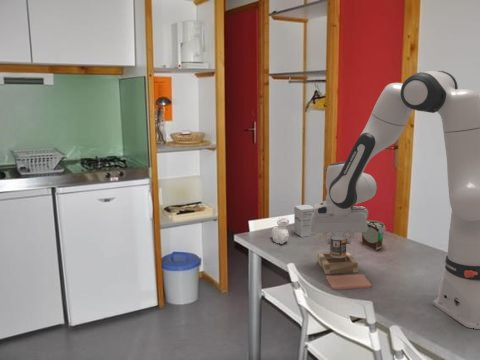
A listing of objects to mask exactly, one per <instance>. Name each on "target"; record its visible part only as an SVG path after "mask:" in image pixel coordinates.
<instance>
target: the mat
mask: <svg viewBox="0 0 480 360" xmlns="http://www.w3.org/2000/svg"><path fill="white" fill-rule="evenodd" d="M325 280H326V282H328V285H329V286H330V287H331V289H332V290H349V289H350V290H351V289H367V288H369V289H370V288H371V289H372V287H373V285H372V284H371V282H370V281H369V279H367V277H366V276H365V275H364V274H363V273H362V274H345V275H341V274H340V275H326V276H325Z"/></svg>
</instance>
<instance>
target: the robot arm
mask: <svg viewBox="0 0 480 360" xmlns="http://www.w3.org/2000/svg"><path fill="white" fill-rule="evenodd" d="M458 87H459V86H458V83H457V79H456V78H455V77H454V76H453V75H452V74H451V73H448V72H447V71H444V70H424V71H421V72H415V73H413V74H412V75H410V76H408V77H407V78H406V79H405V80H404V82H403V83H402V82H392V83H388V84H387V85H386V86H385V87H384V88H383V90H382V92H381V93H380V95H379V96H378V99H377V100H376V103H375V104H374V107H373V109H372V111H371V114H370V116H369V118H368V121H367V122H366V124H365V127H364V128H363V130H362V132H361V133H360V135H359V137H358V138H357V140H356V141H355V142H354V145H353V147H352V148H351V151H350V152H349V154H348V156H347V158H346V160H345V161H339V162H333V163H330V164H329V165H328V166H327V168H326V169H327V170H326V175H325V189H326V196H325V200H324V201H321V202H317V203H314V204H313V206H312V207H313V209H314V212H313V213H312V215H311V220H310V230H311V232H312V233H319V234H320V233H322V235H323V237H324V238H325V243H326V245H330V244H331V243H330V242H331V240H330V237H328V234H329V233H330V234H332V233H334V232H335V231H343V233H347V234H348V233H349V236H348V238H347V237H346V238H347V239H346V245H351V243H352V239H353V238H354V236H355V233H359V234H360V233H361V234H362V233H364V232H366V231H367V230H368V227H367V220H368V218H369V210H368V208H366V207H365V206H356V205H358V204H360V203H363V202H366V201H369V200H371V199H373V198H375V196H376V195H377V192H378V184H377V181H376V179H375V178H374V176H373V175H371V174H369V173H366V172H364V171H365V169H366V168H367V166H368V164H369V162H370V161H371V159H372V158H373V157H375V156H376V155H377V154H378V153H380V152H382V151H383V150H385V149H387V148H389V147H391V146H392V145H393V144H395V143H397V141H398V140H399V138H400V137H401V136H402V134H403V131H404V130H405V128H406V125H407V123H408V121H409V118H410V117H411V115H412V112H414V111H418V112H423V113H431V114H434V113H438V115H439V116H440V118H441V119H440V120H441V122H442V123H441V124H442V129H443V130H442V131H443V138H444V146H445V154H446V169H447V184H448V185H447V186H448V197H449V198H448V199H449V205H450V208H451V213H450V222H449V230H448V244H447V245H448V246H447V255H446V257H445V260H444V268H445V272H443V273H444V274H443V275H442V276H441V277H440V281H439V286H438V287H439V288H438V293H437V298H435V299H434V300H433V306H435V307H436V308H438V309H439V310H441V311H442V312H443V313H445V314H446V315H448V316H449V317H451V318H452V319H454V320H456V321H457V322H458V323H460V324H461V325H463V326H464V327H466V328H468V329H473V328H474V330H480V95H479V93H477V91H475V90H473V89H471V88H470V89H469V88H461V89H459V88H458Z"/></svg>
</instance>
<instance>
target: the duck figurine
mask: <svg viewBox="0 0 480 360" xmlns="http://www.w3.org/2000/svg"><path fill="white" fill-rule="evenodd" d="M289 223H290V221H289V219H288V218H287V217H281V218H280V217H279V218H278V220H276V224H277V225H276V226H274V227H272V230H271V233H270V234H271V239H272V241H273V242H274V243H276V244H277V243H278V244H279V243H280V244H281V245H284V243H286V242H287V241H288V240H289V237H290V234H289V233H290V232H289V230H288V229H287V227H288V225H289ZM280 244H279V245H280Z"/></svg>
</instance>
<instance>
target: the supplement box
mask: <svg viewBox="0 0 480 360" xmlns="http://www.w3.org/2000/svg"><path fill="white" fill-rule="evenodd" d="M313 207H314V206H312V205H311V204H300V205H294V207H293V209H294V213H293V214H294V223H293V224H294V227H293V228H294V229H293V231H294V233H295V234H297V236H300V238H305V237H306V236H307V237H313V236H316V233H312V232H311V230H310V220H311V215H312V213H313V212H314V209H313Z"/></svg>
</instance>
